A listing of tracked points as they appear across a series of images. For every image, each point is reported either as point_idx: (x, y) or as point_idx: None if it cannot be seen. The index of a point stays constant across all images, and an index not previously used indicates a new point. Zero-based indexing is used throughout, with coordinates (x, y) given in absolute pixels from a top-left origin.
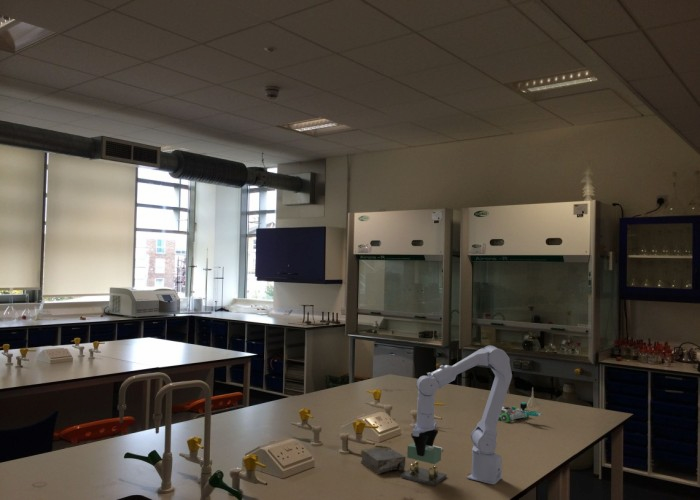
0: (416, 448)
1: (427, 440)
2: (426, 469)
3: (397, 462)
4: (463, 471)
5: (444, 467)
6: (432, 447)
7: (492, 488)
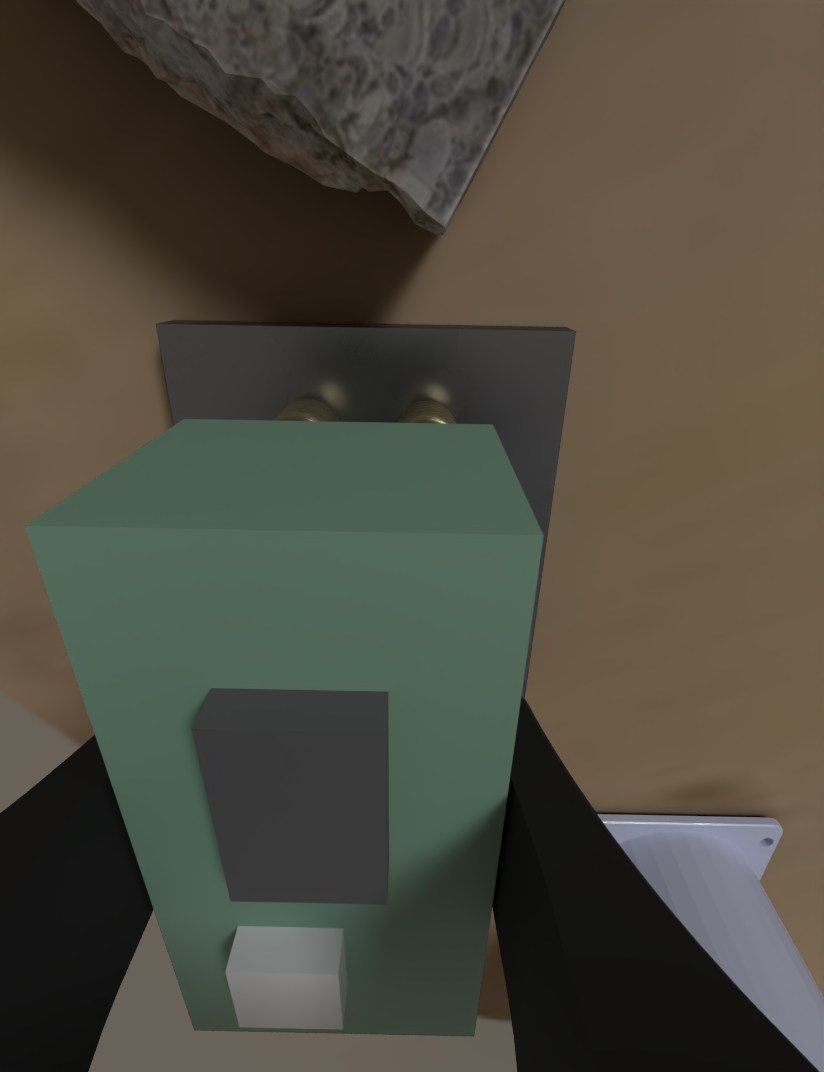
0: (39, 794)
1: (535, 979)
2: (548, 509)
3: (257, 141)
4: (759, 743)
5: (810, 582)
6: (289, 1023)
7: (488, 944)
